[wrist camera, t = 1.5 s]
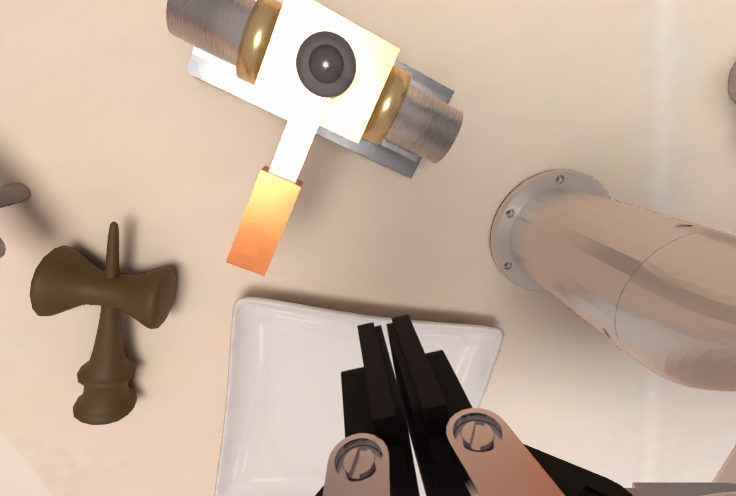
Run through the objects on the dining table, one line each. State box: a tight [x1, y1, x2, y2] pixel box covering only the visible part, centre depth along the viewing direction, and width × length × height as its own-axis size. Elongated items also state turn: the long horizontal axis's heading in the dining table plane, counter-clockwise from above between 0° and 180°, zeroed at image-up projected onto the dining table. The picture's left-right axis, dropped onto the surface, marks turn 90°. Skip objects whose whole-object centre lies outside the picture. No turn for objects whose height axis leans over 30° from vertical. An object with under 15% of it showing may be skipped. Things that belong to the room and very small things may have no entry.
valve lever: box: [226, 31, 357, 276], centre depth 22 cm, size 14×3×2 cm, turn 155°
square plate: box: [215, 296, 504, 496], centre depth 42 cm, size 27×27×4 cm
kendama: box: [30, 222, 176, 425], centre depth 34 cm, size 6×10×20 cm
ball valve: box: [166, 0, 463, 178], centre depth 27 cm, size 20×8×11 cm, turn 65°
